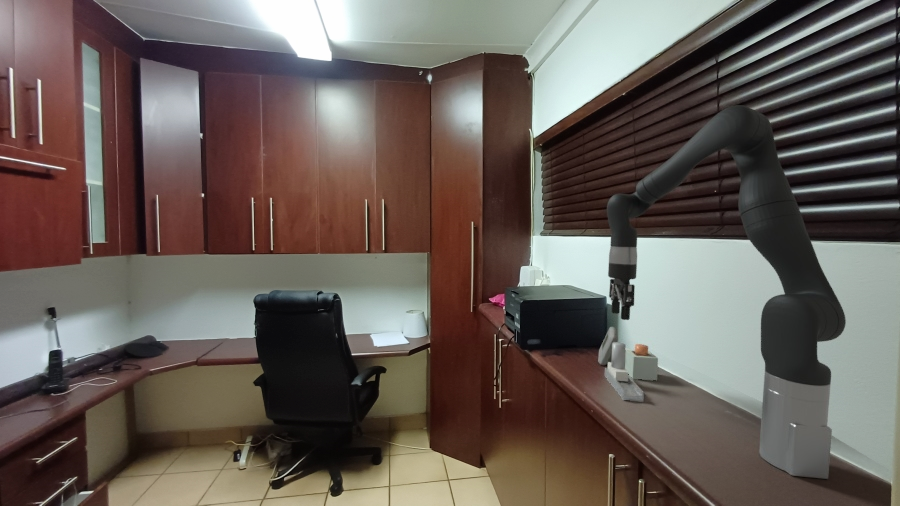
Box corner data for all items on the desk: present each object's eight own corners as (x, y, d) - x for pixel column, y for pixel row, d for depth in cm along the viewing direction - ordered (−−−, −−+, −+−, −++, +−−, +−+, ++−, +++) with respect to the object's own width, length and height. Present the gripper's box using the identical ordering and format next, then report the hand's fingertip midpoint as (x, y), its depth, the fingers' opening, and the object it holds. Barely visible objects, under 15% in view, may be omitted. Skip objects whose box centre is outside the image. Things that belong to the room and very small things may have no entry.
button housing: (656, 380, 111) (658, 358, 111) (632, 379, 112) (633, 356, 112) (647, 372, 118) (648, 350, 118) (624, 370, 119) (625, 349, 118)
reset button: (649, 357, 113) (650, 348, 112) (637, 356, 113) (637, 347, 113) (645, 353, 116) (645, 344, 116) (633, 353, 117) (633, 343, 116)
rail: (643, 401, 96) (643, 391, 96) (623, 400, 97) (623, 390, 97) (621, 377, 113) (621, 368, 113) (604, 376, 114) (604, 367, 114)
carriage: (628, 381, 105) (630, 348, 105) (615, 380, 106) (616, 347, 105) (619, 371, 113) (620, 340, 113) (607, 370, 114) (608, 339, 113)
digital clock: (600, 352, 138) (601, 324, 138) (626, 357, 133) (627, 328, 132) (589, 363, 125) (590, 333, 124) (617, 369, 120) (619, 338, 119)
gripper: (645, 264, 100) (642, 322, 101) (627, 260, 114) (624, 311, 115) (617, 263, 101) (614, 321, 102) (602, 260, 115) (600, 310, 116)
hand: (619, 316), depth 109 cm, fingers open, 8 cm apart
